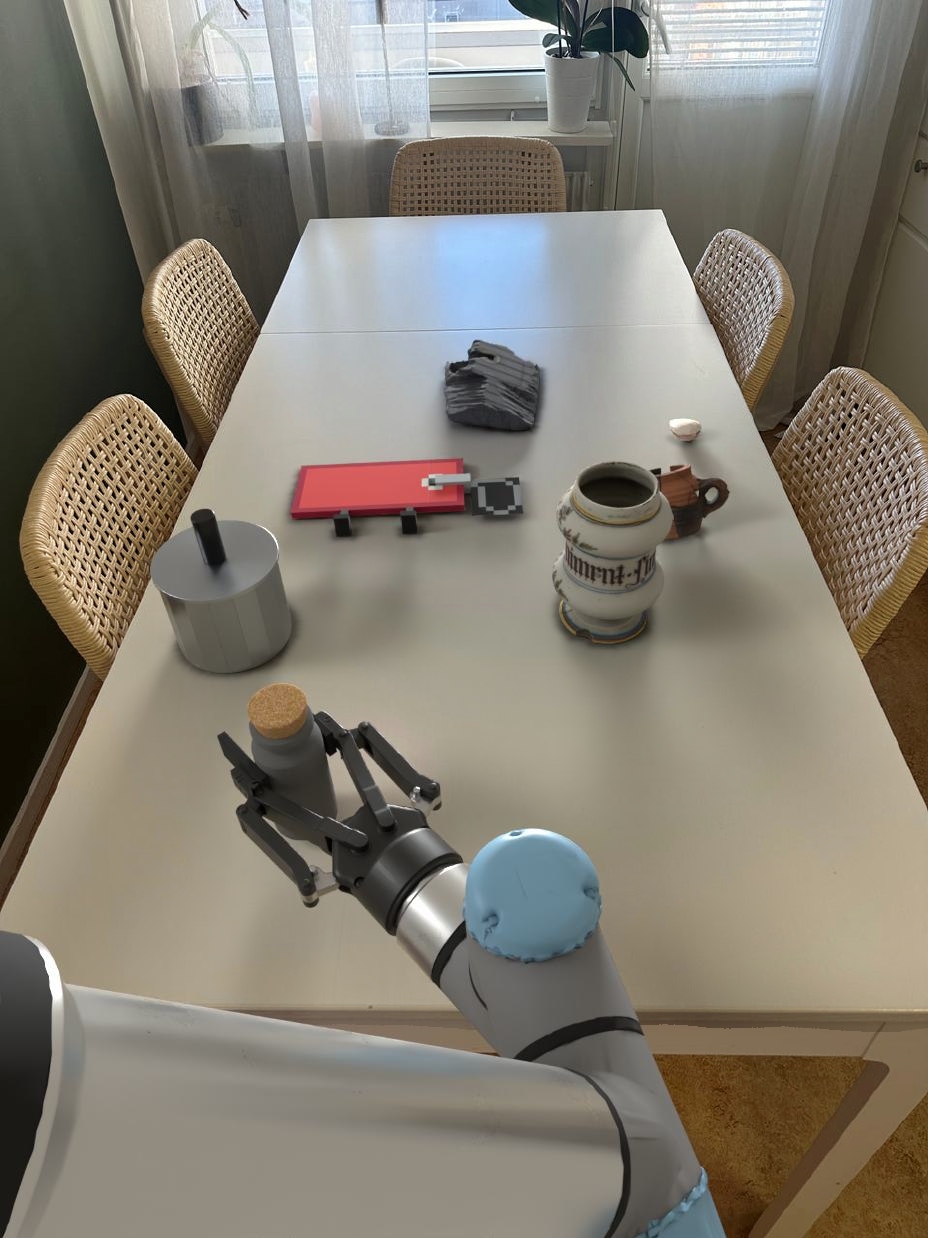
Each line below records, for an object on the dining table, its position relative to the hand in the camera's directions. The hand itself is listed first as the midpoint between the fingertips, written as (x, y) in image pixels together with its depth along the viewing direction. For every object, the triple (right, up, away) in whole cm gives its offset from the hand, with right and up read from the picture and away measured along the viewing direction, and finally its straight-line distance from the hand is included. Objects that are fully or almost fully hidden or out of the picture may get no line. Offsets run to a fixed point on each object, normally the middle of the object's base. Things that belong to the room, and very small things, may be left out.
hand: (257, 723), depth 76 cm
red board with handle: (+11, +25, +40) cm, 48 cm away
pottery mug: (+45, +22, +36) cm, 62 cm away
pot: (-8, +7, +22) cm, 25 cm away
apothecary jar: (+34, +9, +23) cm, 42 cm away
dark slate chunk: (+22, +43, +59) cm, 77 cm away
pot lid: (-8, +15, +15) cm, 23 cm away
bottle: (+4, -9, +3) cm, 10 cm away
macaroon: (+50, +35, +50) cm, 79 cm away
